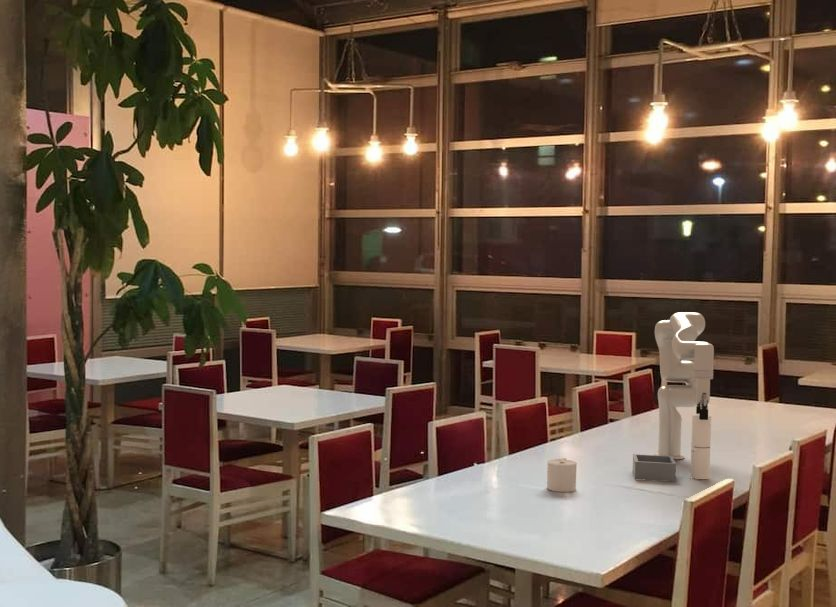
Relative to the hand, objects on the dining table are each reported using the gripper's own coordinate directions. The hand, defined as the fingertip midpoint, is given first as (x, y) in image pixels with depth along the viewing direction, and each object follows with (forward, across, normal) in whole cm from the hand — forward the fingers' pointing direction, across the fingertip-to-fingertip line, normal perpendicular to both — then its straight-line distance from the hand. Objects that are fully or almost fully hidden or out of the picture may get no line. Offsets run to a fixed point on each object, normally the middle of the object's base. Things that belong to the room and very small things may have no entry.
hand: (702, 417), depth 375 cm
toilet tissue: (+24, +31, -54) cm, 67 cm away
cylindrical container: (+24, -1, 0) cm, 24 cm away
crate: (+24, +1, -18) cm, 30 cm away
